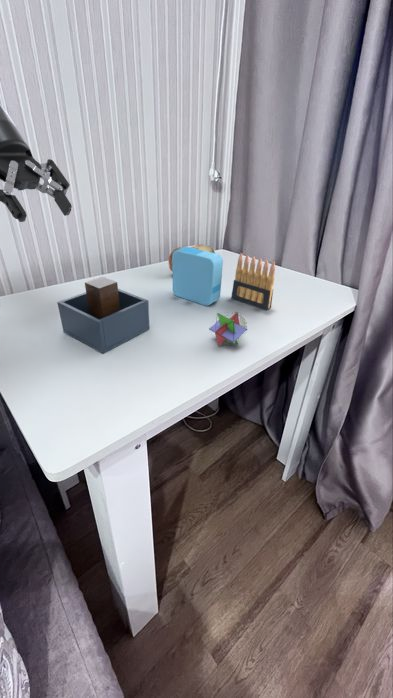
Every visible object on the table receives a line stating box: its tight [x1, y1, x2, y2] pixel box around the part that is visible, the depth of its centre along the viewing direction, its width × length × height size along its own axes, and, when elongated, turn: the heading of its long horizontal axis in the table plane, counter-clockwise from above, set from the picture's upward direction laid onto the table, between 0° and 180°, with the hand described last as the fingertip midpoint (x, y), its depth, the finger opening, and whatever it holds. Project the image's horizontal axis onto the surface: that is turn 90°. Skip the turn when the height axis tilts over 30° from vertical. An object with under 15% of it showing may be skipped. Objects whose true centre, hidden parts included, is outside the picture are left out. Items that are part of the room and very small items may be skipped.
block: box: [84, 276, 120, 320], centre depth 67 cm, size 4×4×10 cm
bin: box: [56, 288, 150, 354], centre depth 68 cm, size 13×13×7 cm
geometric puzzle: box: [208, 310, 249, 348], centre depth 66 cm, size 7×7×8 cm
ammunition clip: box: [230, 252, 276, 311], centre depth 81 cm, size 11×2×12 cm, turn 52°
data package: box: [172, 246, 224, 307], centre depth 83 cm, size 12×4×12 cm, turn 55°
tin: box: [168, 244, 216, 273], centre depth 99 cm, size 15×3×8 cm, turn 119°
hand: (47, 215), depth 58 cm, fingers open, 8 cm apart
